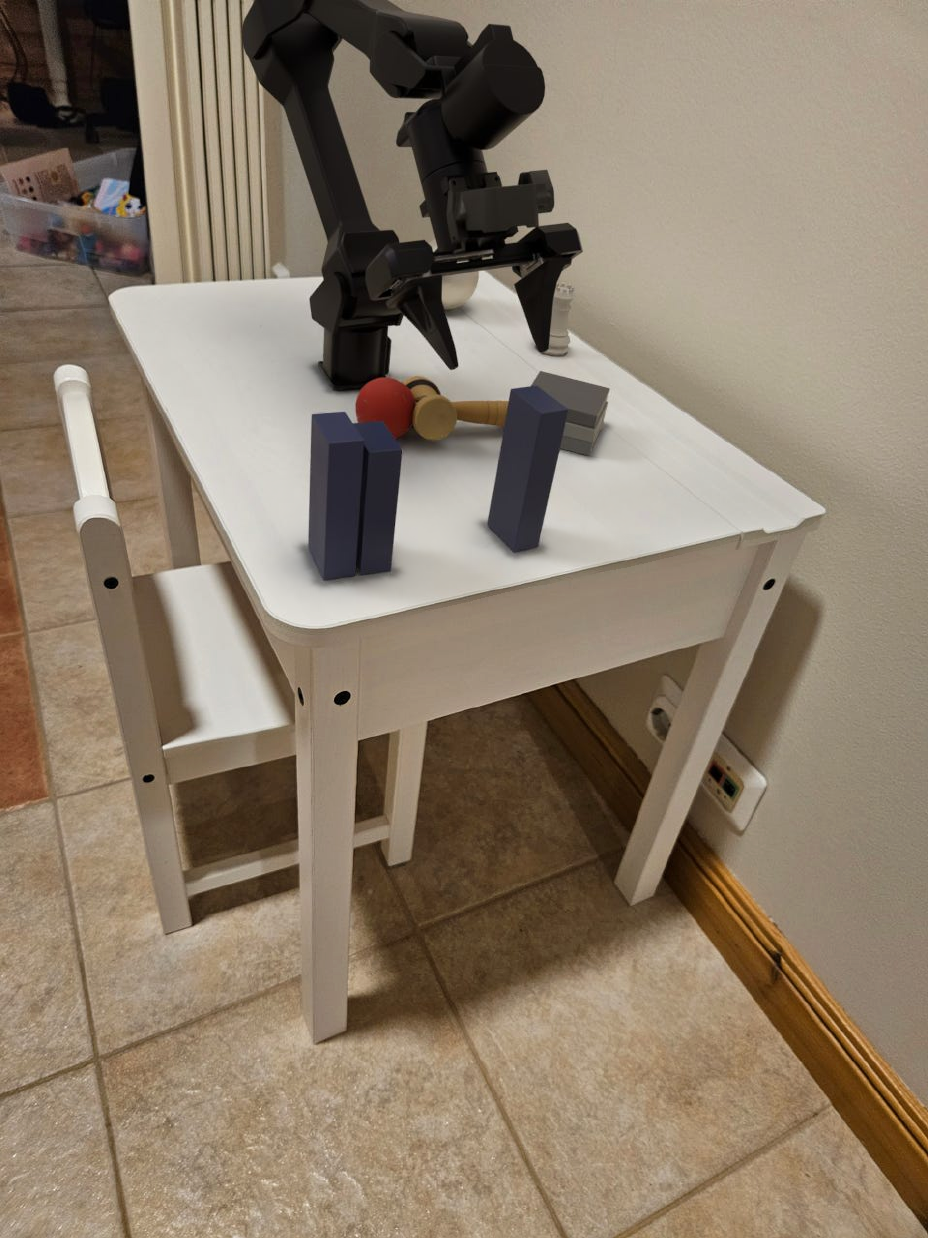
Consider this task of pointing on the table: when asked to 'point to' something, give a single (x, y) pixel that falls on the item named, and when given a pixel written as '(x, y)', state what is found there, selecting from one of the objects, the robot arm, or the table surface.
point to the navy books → (352, 495)
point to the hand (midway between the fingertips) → (500, 359)
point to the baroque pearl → (457, 286)
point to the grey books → (577, 409)
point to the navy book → (526, 466)
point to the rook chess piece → (560, 320)
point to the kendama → (422, 408)
